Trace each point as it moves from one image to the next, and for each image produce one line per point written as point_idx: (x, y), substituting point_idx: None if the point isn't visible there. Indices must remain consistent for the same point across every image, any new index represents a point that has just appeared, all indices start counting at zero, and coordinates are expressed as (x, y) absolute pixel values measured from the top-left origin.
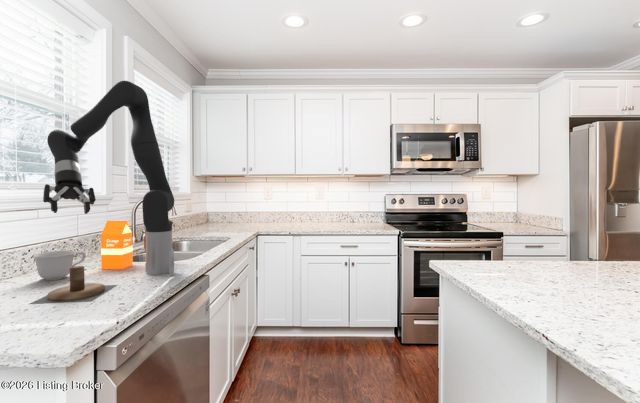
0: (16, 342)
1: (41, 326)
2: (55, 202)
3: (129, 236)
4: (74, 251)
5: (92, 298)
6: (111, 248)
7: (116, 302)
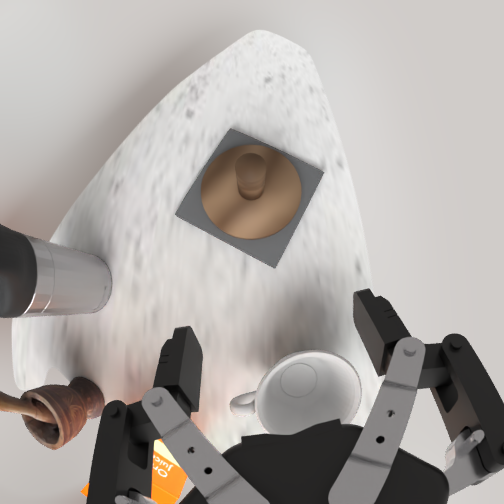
0: (304, 60)
1: (289, 85)
2: (387, 328)
3: None
4: (258, 414)
5: (227, 142)
6: (160, 454)
7: (195, 123)
